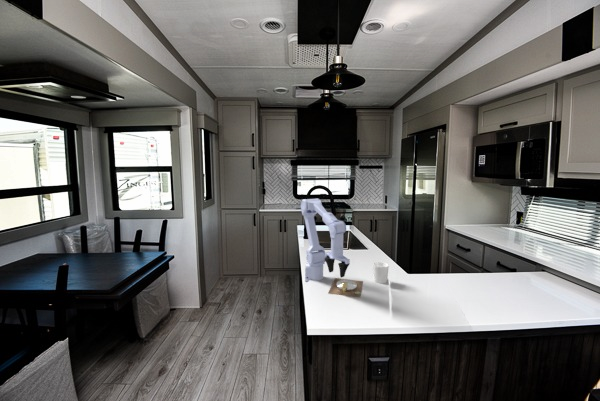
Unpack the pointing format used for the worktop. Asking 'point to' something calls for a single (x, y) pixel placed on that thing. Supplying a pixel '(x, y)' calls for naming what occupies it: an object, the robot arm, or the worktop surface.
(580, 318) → the worktop surface
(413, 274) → the worktop surface
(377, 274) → the white cup
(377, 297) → the worktop surface
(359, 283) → the brown flat rectangular slab
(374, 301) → the worktop surface
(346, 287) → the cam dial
